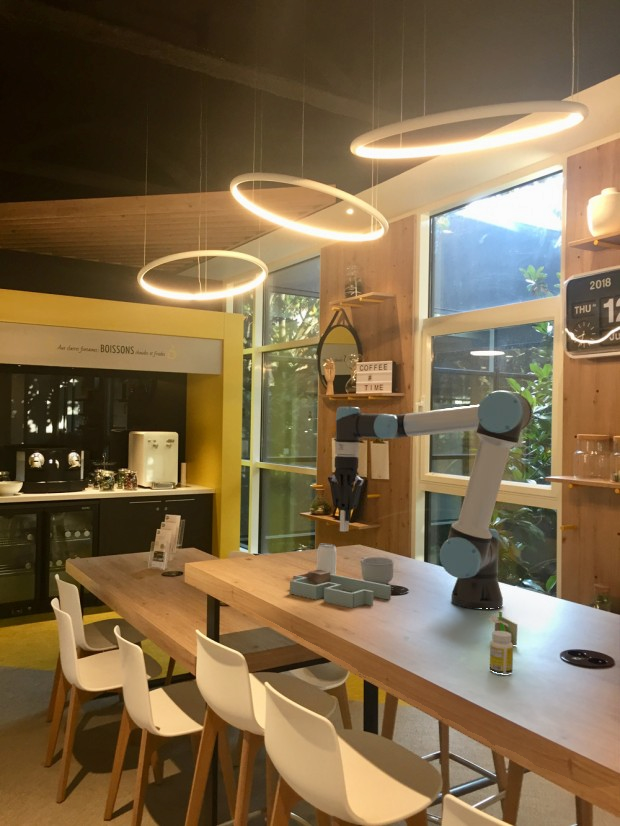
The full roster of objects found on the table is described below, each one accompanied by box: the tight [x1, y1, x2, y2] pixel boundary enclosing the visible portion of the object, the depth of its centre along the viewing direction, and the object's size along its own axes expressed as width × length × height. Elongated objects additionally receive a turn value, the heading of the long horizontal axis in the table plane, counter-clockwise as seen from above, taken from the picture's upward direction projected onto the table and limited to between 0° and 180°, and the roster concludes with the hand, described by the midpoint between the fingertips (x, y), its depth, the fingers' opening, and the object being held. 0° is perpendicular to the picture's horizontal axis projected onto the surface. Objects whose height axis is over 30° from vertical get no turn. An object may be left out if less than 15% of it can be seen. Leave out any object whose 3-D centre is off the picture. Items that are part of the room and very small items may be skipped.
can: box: [316, 543, 337, 575], centre depth 234 cm, size 6×6×12 cm
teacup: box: [360, 556, 395, 585], centre depth 234 cm, size 14×11×8 cm
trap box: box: [289, 571, 392, 609], centre depth 214 cm, size 30×18×4 cm, turn 53°
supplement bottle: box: [489, 630, 514, 674], centre depth 151 cm, size 5×5×8 cm
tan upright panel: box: [488, 610, 518, 645], centre depth 172 cm, size 4×7×8 cm, turn 15°
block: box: [308, 569, 330, 585], centre depth 225 cm, size 5×5×5 cm
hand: (344, 530), depth 219 cm, fingers closed
